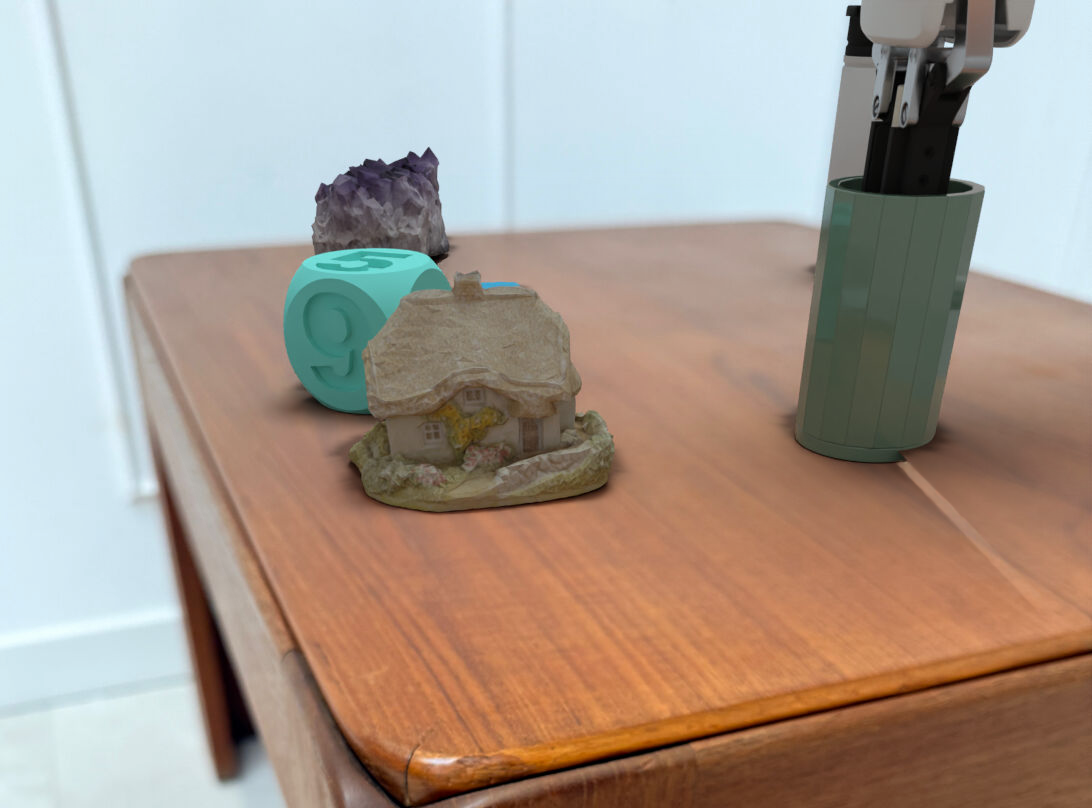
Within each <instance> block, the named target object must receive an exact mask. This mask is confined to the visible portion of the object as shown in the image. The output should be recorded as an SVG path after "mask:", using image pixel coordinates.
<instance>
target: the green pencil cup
mask: <svg viewBox="0 0 1092 808" xmlns="http://www.w3.org/2000/svg"><path fill="white" fill-rule="evenodd" d="M862 181H863V176H852V177H843V178H839V179H835V180H831V181H829V183H828V184H827V183H826V186H825V192H824V199H823V200H824V201H823V208H822V216H821V224H820V231H819V240H818V247H817V254H816V262H815V270H814V276H813V286H812V293H811V299H810V300H811V301H810V306H809V307H810V308H809V315H808V323H807V331H806V338H805V346H804V353H803V361H802V369H801V377H800V384H799V392H798V400H797V407H796V415H795V416H796V417H795V421H794V422H795V429H794V437H795V439H796V441H797V443H798V444H799V445H801V446H802V447H803V448H806V449H807V450H810V451H811V452H813V453H816V454H819V455H822V456H825V457H829V458H833V459H838V460H843V461H850V462H857V463H876V464H877V463H895V462H902V461H907V458H906V457H905V456H904V455H903V454H902V453H901V452H900V451H907V450H913V449H916V448H917V449H918V448H920V447H923V446H925V445H927V444H929V443H931V442H932V441H933V439H934V437H935V435H936V431H937V426H938V421H939V416H940V411H941V407H942V402H943V397H944V393H945V388H946V383H947V378H948V373H949V368H950V363H951V359H952V354H953V349H954V344H955V340H956V334H957V329H958V324H959V320H960V315H961V309H962V304H963V301H964V295H965V290H966V286H967V281H968V275H969V271H970V267H971V262H972V257H973V252H974V247H975V242H976V237H977V232H978V227H979V222H980V218H981V213H982V208H983V203H984V197H985V194H986V186H984V185H982V184H980V183H977V182H974V181H971V180H966V179H960V178H953V177H950V181H949V186H948V191H947V194H944V195H894V194H880V193H870V192H861V188H862Z"/></svg>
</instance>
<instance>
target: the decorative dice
mask: <svg viewBox="0 0 1092 808" xmlns="http://www.w3.org/2000/svg"><path fill="white" fill-rule="evenodd" d="M430 289H441V290H447V291H451V290H453V289H452V287H451V283H450V281H449V280H448V277H446V275H445V273H444V272H443V271H442V269H441V268H440V267H439V265H437V263H435V261H434V260H433V259H432V258H431V256H430V257H429V256H427V255H425V254H423V253H420V252H416V251H410V250H402V249H387V248H367V249H350V250H341V251H333V252H328V253H323V254H319V255H315V254H314V255H313V256H309V257H308V258H306V259H304V261H302V263H301V264H300V266H299V267H298V268H297V270H296V271H295V273H294V274H293V277H291V281H290V283H289V286H288V289H287V291H286V296H285V301H284V307H283V315H282V317H283V319H282V320H283V321H282V326H283V327H282V328H283V329H282V330H283V339H284V347H285V350H286V354H287V358H288V360H289V363H290V365H291V368H292V370H293V371H294V374H295V375H296V377H297V378H298V380H299V382H300V383H301V384H302V385H303V387H304V388H305V389H306V390H307V392H308V394H310V395H311V396H312V397H313V398H314V399H315V400H316V401H318V403H320V404H321V405H323V406H324V407H326V408H328V409H330V410H333V411H338V412H342V413H348V414H358V415H372V414H371V412H370V411H369V408H368V401H367V396H366V395H367V390H366V383H365V369H364V361H363V359H362V357H361V356H362V351H363V349H365V348H366V347H367V344H368V341H370V340H372V339H373V338H374V337H375V336H376V335H377V333H378V332H379V331H380V330H381V329H382V327H383V326H384V325H385V324H386V322H387V320H388V318H389V317H390V316H391V315H392V314H393V313H394V311H395V310H396V308H397V307H398V306H399V303H400V299H401V298H402V297H404V296H406V295H408V294H410V293H412V292H415V291H420V290H430Z"/></svg>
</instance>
